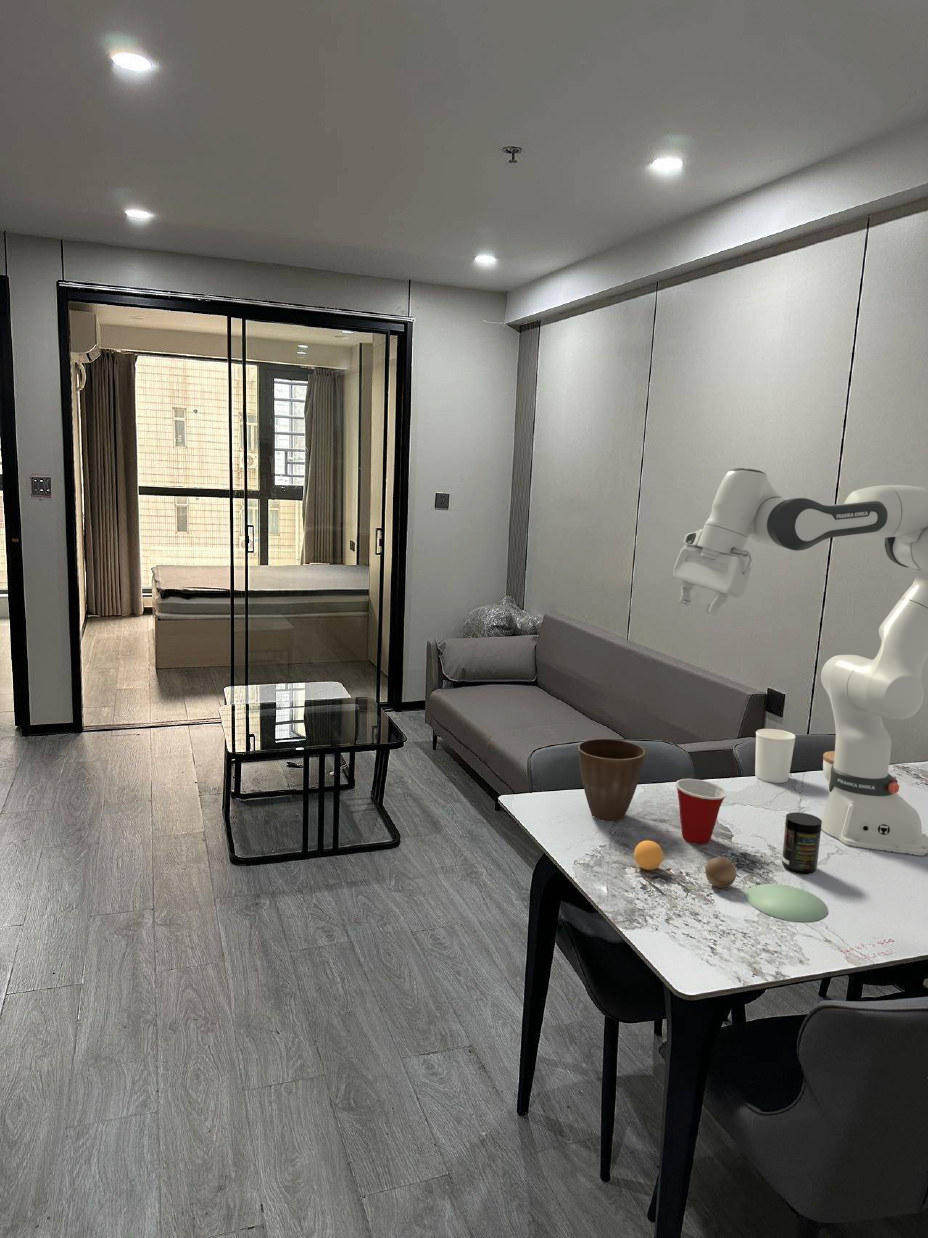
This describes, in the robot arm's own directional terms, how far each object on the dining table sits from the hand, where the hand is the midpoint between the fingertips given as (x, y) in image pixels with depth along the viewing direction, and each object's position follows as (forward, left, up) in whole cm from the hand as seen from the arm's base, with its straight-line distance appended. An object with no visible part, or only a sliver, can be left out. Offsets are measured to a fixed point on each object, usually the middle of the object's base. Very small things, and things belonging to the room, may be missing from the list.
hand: (696, 609), depth 175 cm
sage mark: (-24, +16, -50) cm, 58 cm away
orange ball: (+2, +16, -47) cm, 50 cm away
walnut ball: (-12, +16, -47) cm, 52 cm away
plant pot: (+18, -6, -50) cm, 54 cm away
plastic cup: (-3, -4, -50) cm, 51 cm away
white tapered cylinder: (-10, -56, -50) cm, 76 cm away
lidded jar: (-27, -60, -50) cm, 83 cm away
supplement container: (-24, -1, -50) cm, 56 cm away
